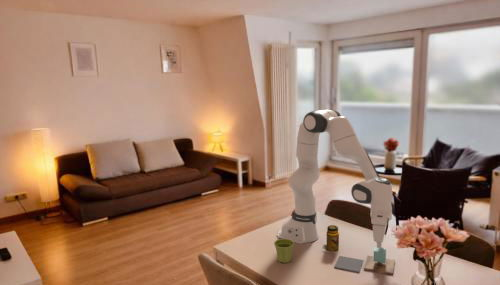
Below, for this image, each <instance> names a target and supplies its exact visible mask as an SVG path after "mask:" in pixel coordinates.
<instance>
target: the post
mask: <svg viewBox="0 0 500 285" xmlns="http://www.w3.org/2000/svg"><path fill="white" fill-rule="evenodd" d="M395 261H396V260H395V259H391V258H390V259H389V258H386V260H385V263H381V262H375V261H374V255H367V257H366V260H365V262H364V266H363V271H364V270H365V271H369V272H372V273H373V272H374V273H379V274H385V275H390V276H393V275H394V269H395Z"/></svg>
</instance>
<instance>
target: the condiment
mask: <svg viewBox="0 0 500 285" xmlns="http://www.w3.org/2000/svg"><path fill="white" fill-rule="evenodd" d="M326 230H327V231H326V244H322V249H321V252H326V253H332V254H333V253H334V254H339V253H340V251H341V250H340V248H341V246H340V232H339V227H338V226H337V225H334V224H331V225H328V226H327V229H326Z"/></svg>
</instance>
